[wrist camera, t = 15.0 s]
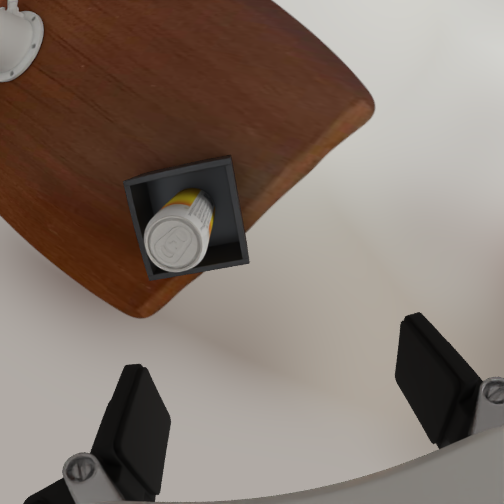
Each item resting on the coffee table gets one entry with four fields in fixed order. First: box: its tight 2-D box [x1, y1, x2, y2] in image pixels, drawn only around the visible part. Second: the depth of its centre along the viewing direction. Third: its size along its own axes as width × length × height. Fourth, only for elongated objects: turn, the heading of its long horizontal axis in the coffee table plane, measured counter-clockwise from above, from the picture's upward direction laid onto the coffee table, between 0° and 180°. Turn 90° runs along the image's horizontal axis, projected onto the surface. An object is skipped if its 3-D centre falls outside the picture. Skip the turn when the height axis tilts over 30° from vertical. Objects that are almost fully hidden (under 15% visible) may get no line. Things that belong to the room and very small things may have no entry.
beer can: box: [144, 188, 215, 272], centre depth 35 cm, size 6×6×15 cm
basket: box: [123, 155, 249, 281], centre depth 39 cm, size 12×12×8 cm
